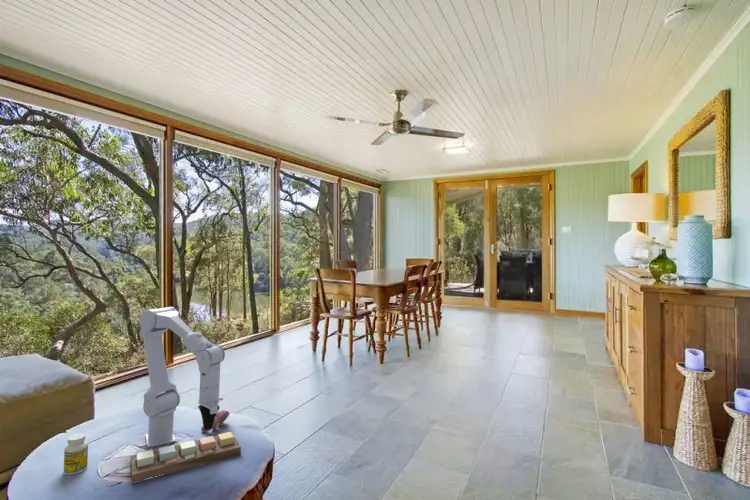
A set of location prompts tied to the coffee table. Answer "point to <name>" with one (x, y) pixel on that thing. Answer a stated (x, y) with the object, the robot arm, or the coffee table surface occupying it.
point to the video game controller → (218, 420)
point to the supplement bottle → (75, 454)
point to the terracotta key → (207, 443)
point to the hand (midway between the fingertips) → (207, 428)
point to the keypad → (183, 460)
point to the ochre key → (225, 439)
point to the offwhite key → (145, 458)
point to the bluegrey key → (166, 453)
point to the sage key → (187, 448)
